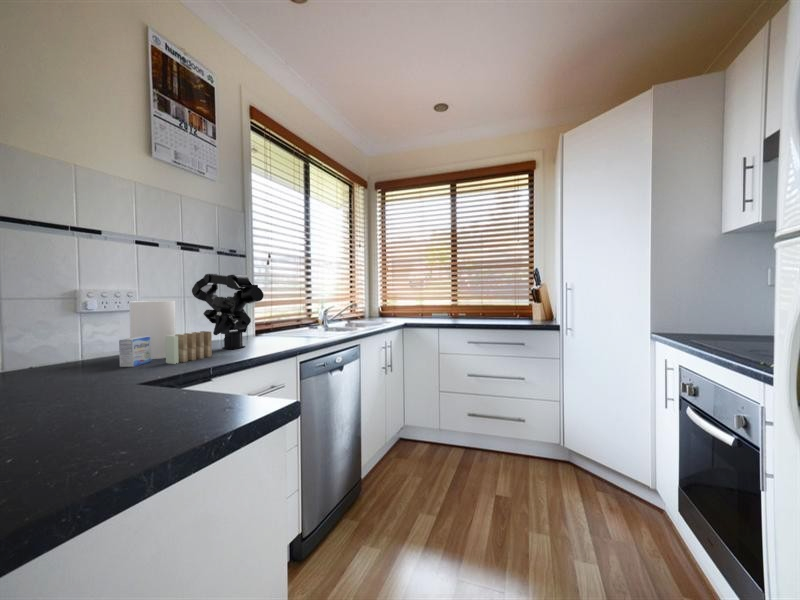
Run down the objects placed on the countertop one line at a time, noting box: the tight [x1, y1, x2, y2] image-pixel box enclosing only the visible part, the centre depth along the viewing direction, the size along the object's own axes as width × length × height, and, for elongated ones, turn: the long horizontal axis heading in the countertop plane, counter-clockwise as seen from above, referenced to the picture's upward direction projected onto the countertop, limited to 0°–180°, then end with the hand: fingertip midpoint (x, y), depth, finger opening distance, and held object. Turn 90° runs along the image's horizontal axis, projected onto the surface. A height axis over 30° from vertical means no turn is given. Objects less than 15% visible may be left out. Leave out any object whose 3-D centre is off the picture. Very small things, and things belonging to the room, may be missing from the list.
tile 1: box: [200, 330, 213, 358], centre depth 129 cm, size 1×4×9 cm, turn 69°
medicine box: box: [118, 336, 152, 368], centre depth 115 cm, size 8×4×9 cm, turn 179°
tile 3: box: [183, 332, 197, 361], centre depth 123 cm, size 1×4×9 cm, turn 69°
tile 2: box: [191, 331, 205, 360], centre depth 126 cm, size 1×4×9 cm, turn 69°
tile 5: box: [165, 335, 180, 365], centre depth 117 cm, size 1×4×9 cm, turn 69°
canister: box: [129, 300, 177, 360], centre depth 129 cm, size 14×14×20 cm
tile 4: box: [175, 333, 189, 363], centre depth 120 cm, size 1×4×9 cm, turn 69°
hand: (214, 334), depth 132 cm, fingers closed
